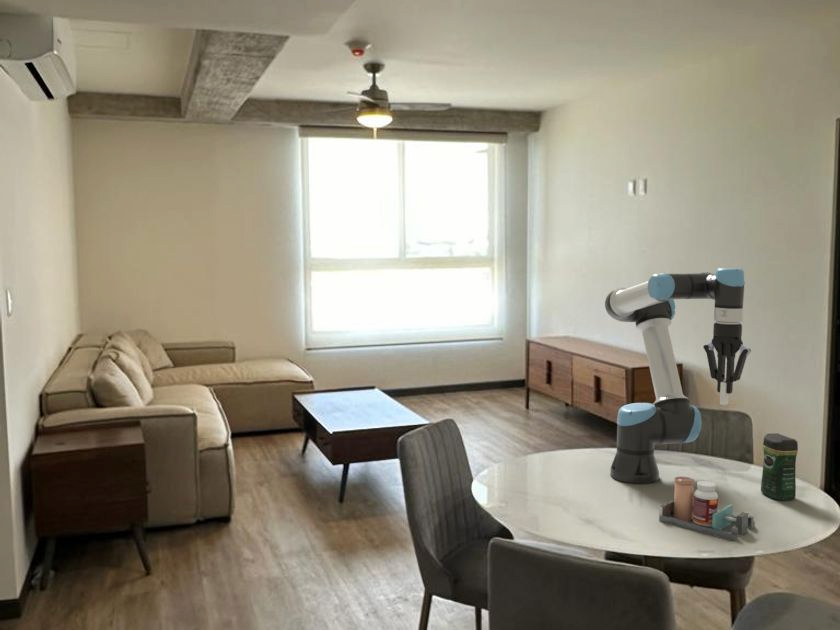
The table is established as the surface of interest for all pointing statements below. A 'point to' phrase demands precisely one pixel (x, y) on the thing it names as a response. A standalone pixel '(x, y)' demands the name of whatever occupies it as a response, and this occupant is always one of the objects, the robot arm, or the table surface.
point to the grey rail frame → (668, 511)
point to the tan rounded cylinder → (683, 498)
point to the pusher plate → (730, 520)
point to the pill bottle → (705, 503)
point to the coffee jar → (779, 466)
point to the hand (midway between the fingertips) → (724, 404)
